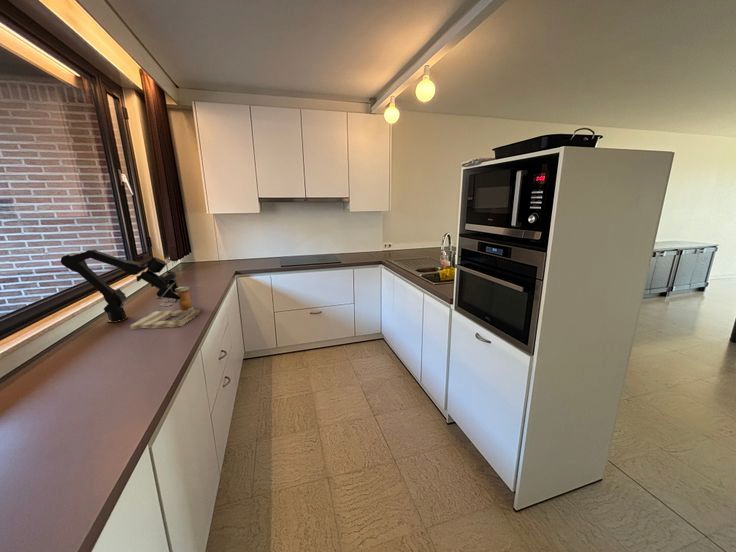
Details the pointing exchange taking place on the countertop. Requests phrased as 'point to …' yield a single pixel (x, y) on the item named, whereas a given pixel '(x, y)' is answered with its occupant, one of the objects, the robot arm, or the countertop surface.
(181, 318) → the cross bar
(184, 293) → the cord reel
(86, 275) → the robot arm
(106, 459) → the countertop surface
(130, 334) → the countertop surface
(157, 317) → the rectangular frame
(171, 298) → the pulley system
